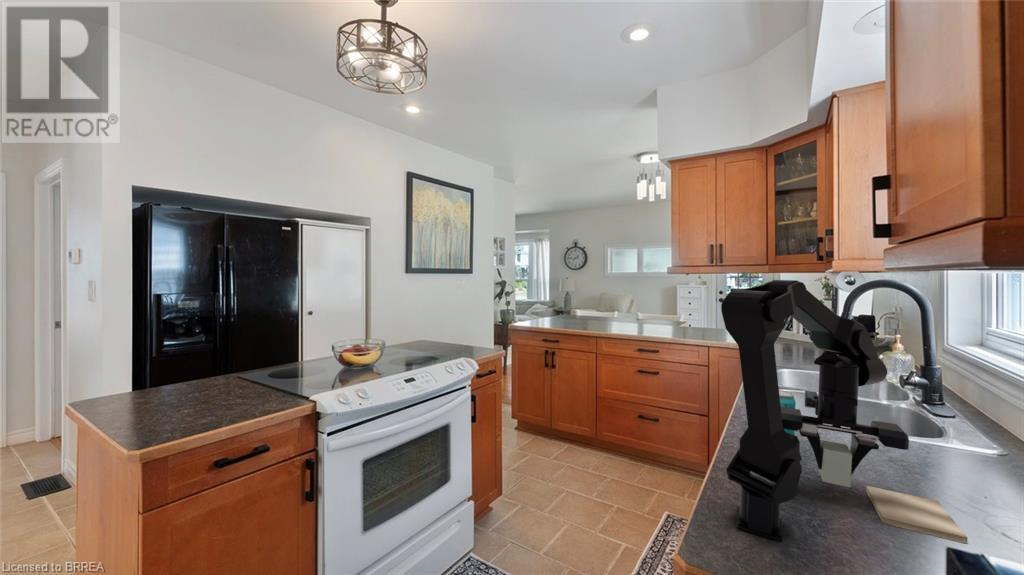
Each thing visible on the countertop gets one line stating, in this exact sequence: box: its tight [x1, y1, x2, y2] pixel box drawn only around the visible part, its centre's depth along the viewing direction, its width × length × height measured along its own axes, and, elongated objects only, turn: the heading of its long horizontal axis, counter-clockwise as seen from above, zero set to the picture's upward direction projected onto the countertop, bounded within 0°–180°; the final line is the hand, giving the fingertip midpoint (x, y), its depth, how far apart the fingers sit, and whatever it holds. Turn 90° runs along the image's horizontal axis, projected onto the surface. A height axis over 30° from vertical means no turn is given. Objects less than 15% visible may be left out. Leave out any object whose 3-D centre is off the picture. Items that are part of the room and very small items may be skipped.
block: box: [818, 439, 852, 488], centre depth 76 cm, size 5×4×6 cm
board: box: [865, 485, 969, 544], centre depth 71 cm, size 12×10×1 cm
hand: (834, 471), depth 76 cm, fingers closed on block, 4 cm apart
